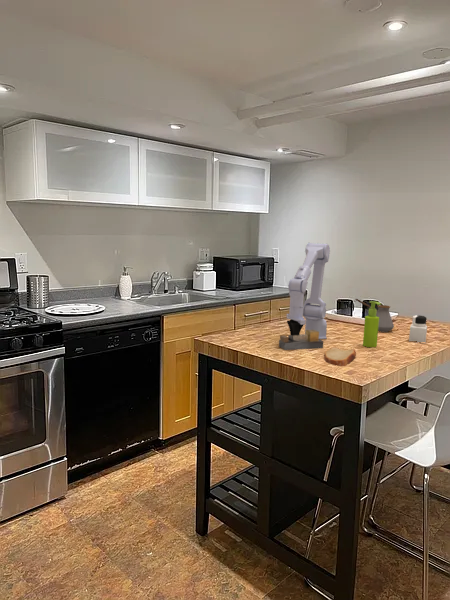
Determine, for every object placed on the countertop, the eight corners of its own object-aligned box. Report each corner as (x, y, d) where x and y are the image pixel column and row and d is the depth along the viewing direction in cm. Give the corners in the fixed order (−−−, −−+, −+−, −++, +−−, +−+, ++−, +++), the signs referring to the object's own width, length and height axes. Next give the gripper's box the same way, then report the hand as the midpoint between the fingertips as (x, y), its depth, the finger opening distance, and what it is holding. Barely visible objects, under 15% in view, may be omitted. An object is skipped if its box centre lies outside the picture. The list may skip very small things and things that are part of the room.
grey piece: (316, 344, 207) (317, 333, 206) (323, 348, 202) (323, 336, 201) (278, 346, 202) (279, 335, 201) (284, 349, 196) (285, 338, 195)
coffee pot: (396, 330, 243) (399, 302, 241) (389, 334, 234) (391, 304, 231) (356, 324, 255) (358, 297, 253) (348, 327, 246) (350, 299, 244)
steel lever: (305, 338, 203) (306, 334, 203) (308, 340, 201) (308, 335, 200) (287, 339, 200) (287, 334, 200) (289, 340, 198) (289, 336, 198)
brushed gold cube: (313, 338, 205) (314, 329, 205) (318, 341, 201) (319, 331, 201) (305, 338, 204) (305, 329, 204) (310, 341, 200) (310, 332, 199)
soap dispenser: (371, 348, 203) (375, 303, 200) (359, 345, 209) (363, 300, 206) (381, 347, 206) (385, 302, 203) (369, 343, 212) (373, 300, 209)
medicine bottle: (425, 340, 223) (428, 315, 221) (425, 343, 216) (427, 317, 214) (409, 338, 226) (412, 313, 224) (408, 341, 219) (411, 316, 217)
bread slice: (336, 367, 174) (337, 358, 174) (309, 355, 191) (310, 346, 190) (375, 363, 181) (375, 354, 181) (345, 352, 198) (346, 343, 197)
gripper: (280, 304, 206) (279, 334, 208) (295, 309, 193) (293, 342, 195) (295, 303, 208) (293, 333, 210) (310, 309, 195) (308, 341, 197)
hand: (294, 337), depth 203 cm, fingers closed
